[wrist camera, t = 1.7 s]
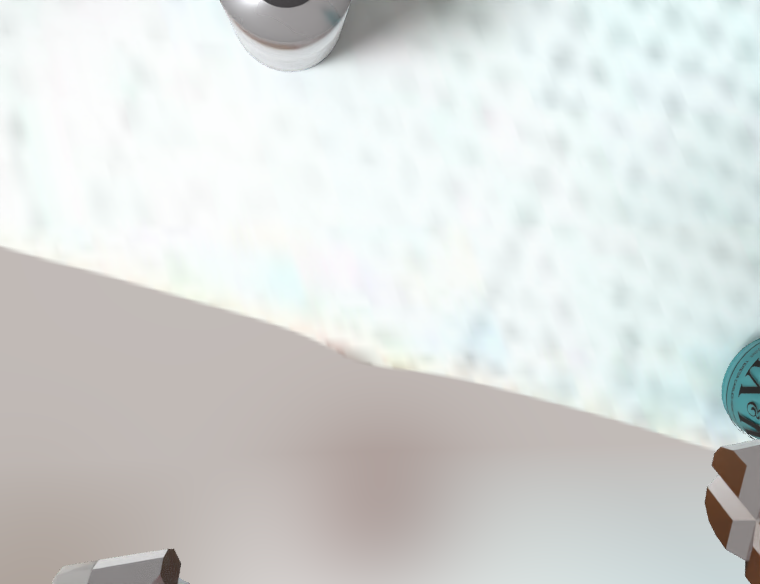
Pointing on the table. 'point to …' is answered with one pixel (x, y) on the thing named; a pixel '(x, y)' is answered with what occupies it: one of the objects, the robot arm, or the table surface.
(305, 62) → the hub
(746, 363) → the beverage bottle
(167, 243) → the table surface
